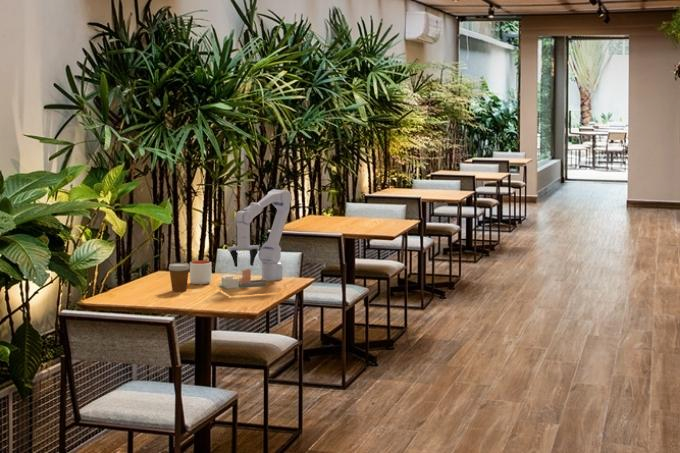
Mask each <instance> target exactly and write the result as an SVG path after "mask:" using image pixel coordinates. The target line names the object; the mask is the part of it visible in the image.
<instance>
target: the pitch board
mask: <svg viewBox="0 0 680 453" xmlns="http://www.w3.org/2000/svg"><path fill="white" fill-rule="evenodd" d="M230 278H234V275H227V276H224V275H223V276H221V283H217V285H218V286H220V287H221V288H223V289H225V290H231V289H232V290H233V289H245V288H258V287H269V285H268V284H267V281H264V282H263V281H262V279H251V283H244V284H243V286H241V285H240V284H239V278H235V279H230Z"/></svg>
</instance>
